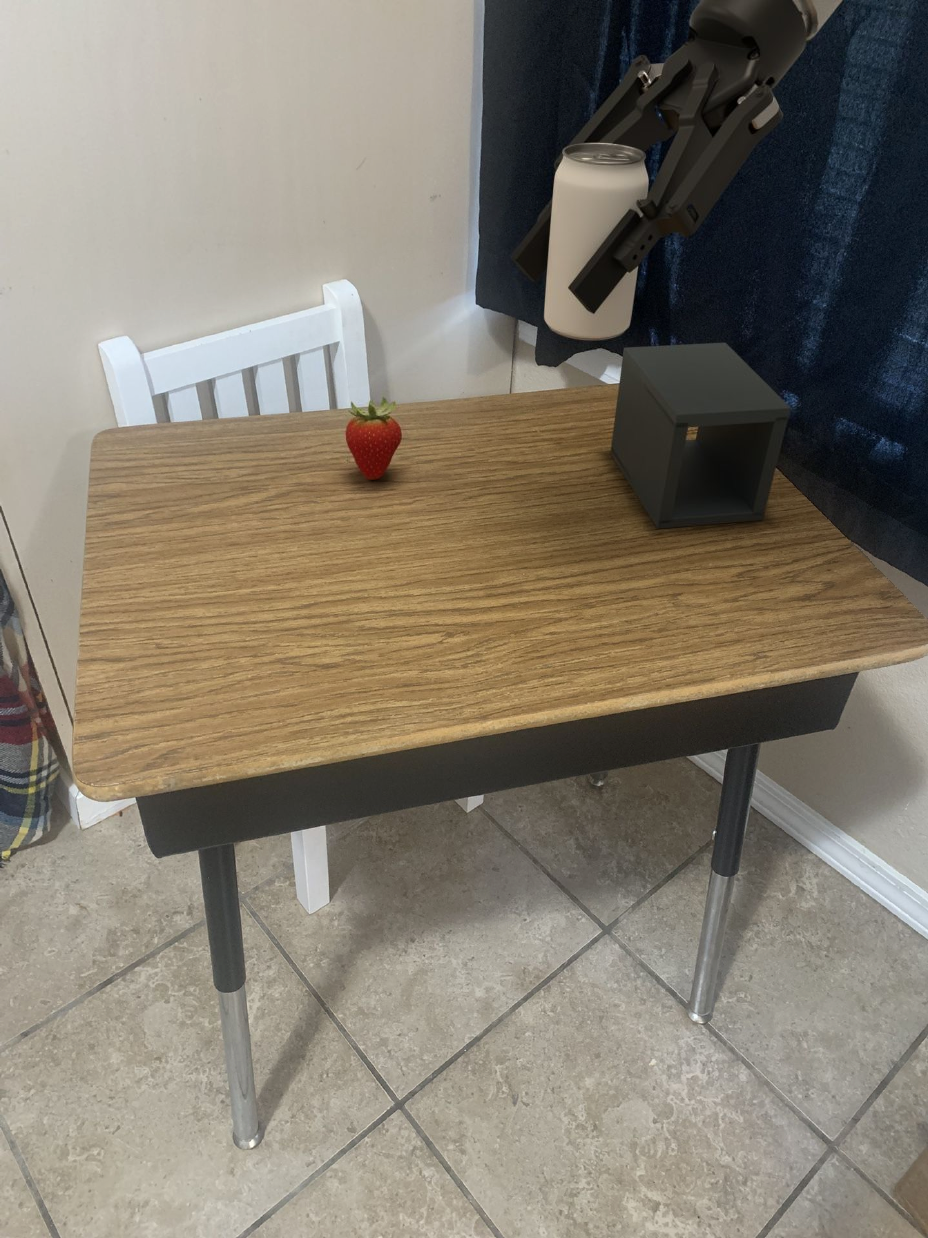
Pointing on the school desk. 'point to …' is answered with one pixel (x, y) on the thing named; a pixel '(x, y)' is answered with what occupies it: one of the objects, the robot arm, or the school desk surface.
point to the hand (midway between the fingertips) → (551, 284)
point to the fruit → (373, 438)
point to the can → (591, 234)
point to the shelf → (725, 442)
